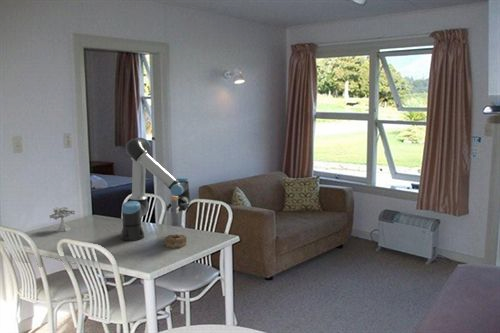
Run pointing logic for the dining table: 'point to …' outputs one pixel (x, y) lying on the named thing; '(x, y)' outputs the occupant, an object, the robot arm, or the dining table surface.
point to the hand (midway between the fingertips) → (173, 211)
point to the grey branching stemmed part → (62, 214)
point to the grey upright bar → (174, 211)
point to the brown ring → (175, 241)
